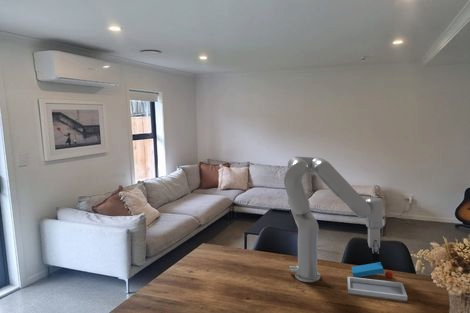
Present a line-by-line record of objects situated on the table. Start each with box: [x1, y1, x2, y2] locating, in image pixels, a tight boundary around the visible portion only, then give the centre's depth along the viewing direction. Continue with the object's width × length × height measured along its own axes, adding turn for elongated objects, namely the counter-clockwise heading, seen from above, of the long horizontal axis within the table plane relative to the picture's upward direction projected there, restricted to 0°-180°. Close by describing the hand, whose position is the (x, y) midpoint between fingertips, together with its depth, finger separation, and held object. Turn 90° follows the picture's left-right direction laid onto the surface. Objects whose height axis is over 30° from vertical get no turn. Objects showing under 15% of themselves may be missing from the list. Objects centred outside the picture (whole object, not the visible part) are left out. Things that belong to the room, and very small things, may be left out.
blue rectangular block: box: [351, 261, 394, 279], centre depth 165 cm, size 7×7×18 cm
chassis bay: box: [347, 276, 408, 303], centre depth 151 cm, size 24×12×2 cm, turn 73°
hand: (374, 256), depth 164 cm, fingers open, 9 cm apart
